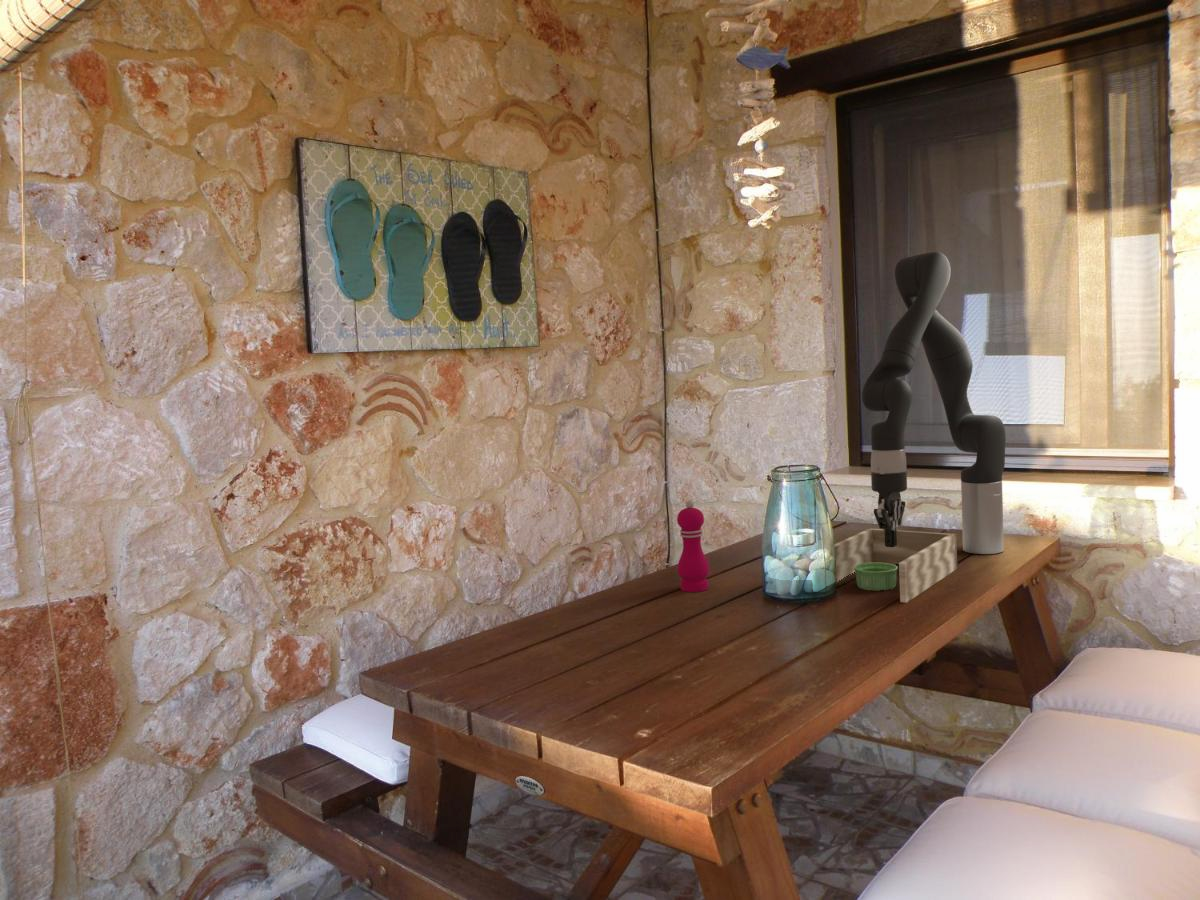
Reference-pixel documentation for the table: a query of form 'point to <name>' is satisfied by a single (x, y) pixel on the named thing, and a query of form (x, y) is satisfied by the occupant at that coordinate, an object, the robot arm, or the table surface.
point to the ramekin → (876, 576)
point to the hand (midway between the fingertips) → (890, 546)
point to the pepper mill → (692, 551)
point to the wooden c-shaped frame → (901, 557)
